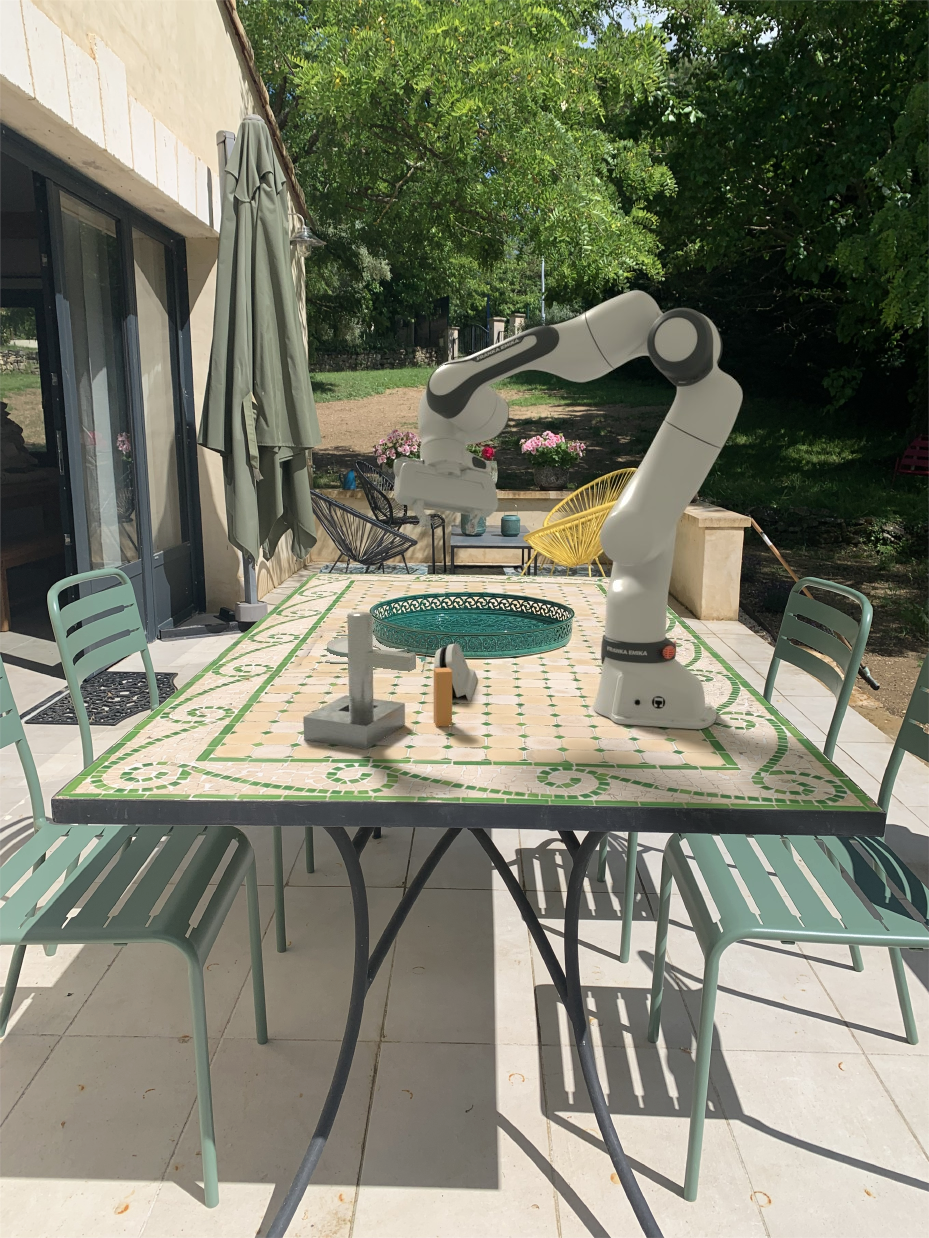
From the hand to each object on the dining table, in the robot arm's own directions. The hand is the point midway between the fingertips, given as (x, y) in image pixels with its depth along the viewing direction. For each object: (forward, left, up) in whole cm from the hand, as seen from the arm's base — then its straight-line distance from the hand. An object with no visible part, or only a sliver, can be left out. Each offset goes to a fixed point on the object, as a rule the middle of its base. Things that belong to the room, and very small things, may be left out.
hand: (448, 529), depth 167 cm
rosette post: (+4, +22, -33) cm, 40 cm away
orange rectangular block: (-4, +12, -33) cm, 36 cm away
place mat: (+35, -32, -34) cm, 58 cm away
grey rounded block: (+3, -10, -34) cm, 35 cm away
